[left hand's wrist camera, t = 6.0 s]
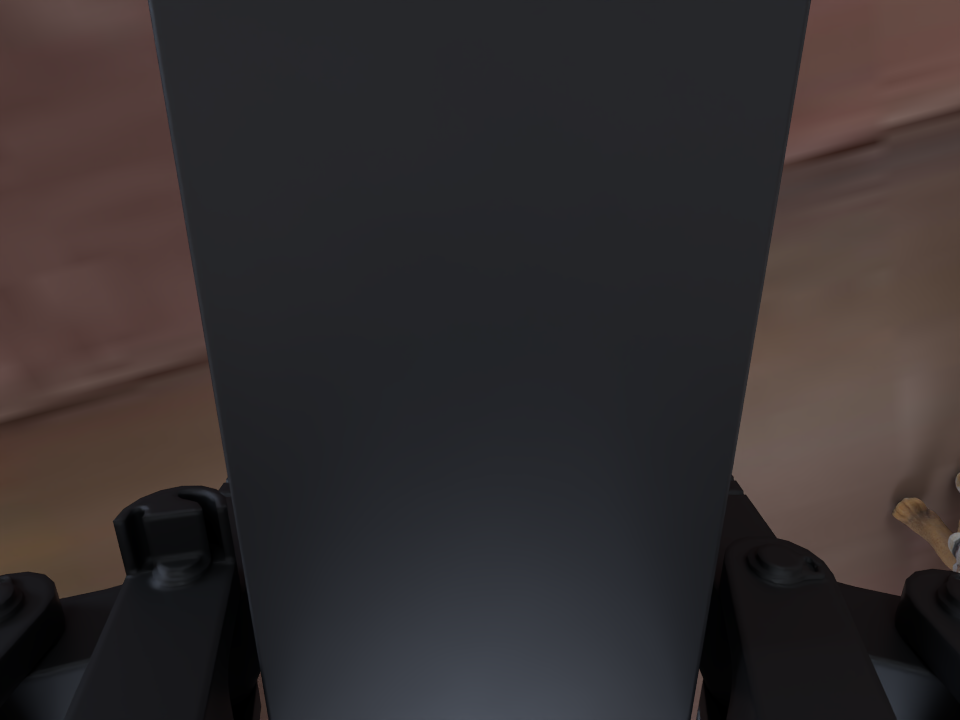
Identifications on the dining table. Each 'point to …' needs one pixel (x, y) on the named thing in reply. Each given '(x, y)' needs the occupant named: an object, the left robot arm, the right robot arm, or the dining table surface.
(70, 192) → the dining table surface
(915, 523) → the lion figurine
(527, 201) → the bar
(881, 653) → the left robot arm
